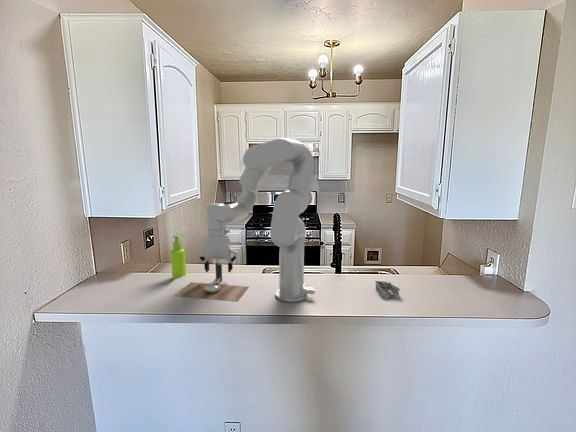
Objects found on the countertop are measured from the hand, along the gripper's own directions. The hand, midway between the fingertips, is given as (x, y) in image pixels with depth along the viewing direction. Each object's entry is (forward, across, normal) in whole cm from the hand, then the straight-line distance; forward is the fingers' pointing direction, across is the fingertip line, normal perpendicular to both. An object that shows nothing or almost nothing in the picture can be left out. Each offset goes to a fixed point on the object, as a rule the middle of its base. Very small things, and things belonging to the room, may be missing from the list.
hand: (218, 271), depth 130 cm
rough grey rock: (+6, -70, +8) cm, 71 cm away
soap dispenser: (+6, +20, -8) cm, 22 cm away
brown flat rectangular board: (+6, 0, +11) cm, 12 cm away
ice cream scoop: (+4, 0, +6) cm, 8 cm away
